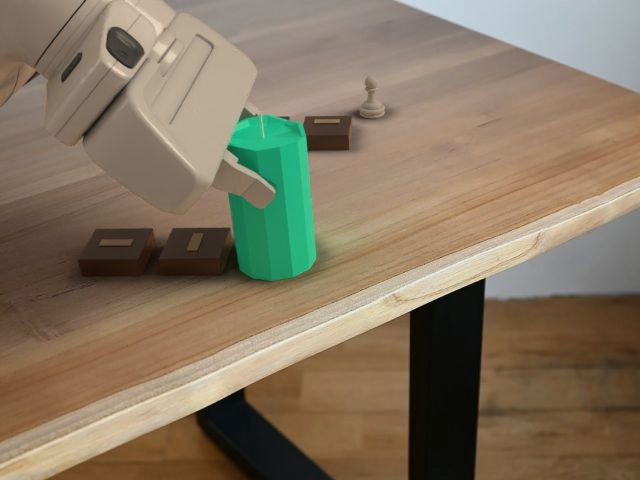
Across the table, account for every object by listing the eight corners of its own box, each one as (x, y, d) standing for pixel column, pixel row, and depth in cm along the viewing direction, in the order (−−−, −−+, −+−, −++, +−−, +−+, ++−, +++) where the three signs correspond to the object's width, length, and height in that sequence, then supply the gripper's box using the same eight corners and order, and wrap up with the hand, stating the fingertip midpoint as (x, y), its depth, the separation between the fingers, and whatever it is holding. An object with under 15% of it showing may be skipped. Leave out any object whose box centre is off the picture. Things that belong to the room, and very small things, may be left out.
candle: (285, 289, 65) (269, 136, 59) (220, 267, 68) (197, 119, 61) (331, 250, 70) (320, 103, 63) (269, 231, 72) (252, 89, 66)
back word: (237, 151, 85) (235, 135, 84) (244, 130, 89) (243, 115, 88) (349, 150, 84) (348, 134, 84) (352, 129, 88) (351, 114, 87)
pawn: (382, 107, 93) (381, 69, 90) (387, 117, 90) (386, 79, 88) (357, 110, 92) (355, 72, 90) (361, 120, 90) (359, 82, 88)
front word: (81, 276, 67) (76, 258, 67) (99, 244, 71) (95, 227, 70) (222, 275, 67) (219, 257, 66) (232, 243, 71) (230, 226, 70)
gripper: (130, 29, 70) (269, 143, 75) (35, 144, 53) (223, 282, 58) (178, -31, 67) (319, 92, 72) (95, 69, 50) (287, 221, 55)
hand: (276, 177), depth 65 cm, fingers closed on candle, 5 cm apart
